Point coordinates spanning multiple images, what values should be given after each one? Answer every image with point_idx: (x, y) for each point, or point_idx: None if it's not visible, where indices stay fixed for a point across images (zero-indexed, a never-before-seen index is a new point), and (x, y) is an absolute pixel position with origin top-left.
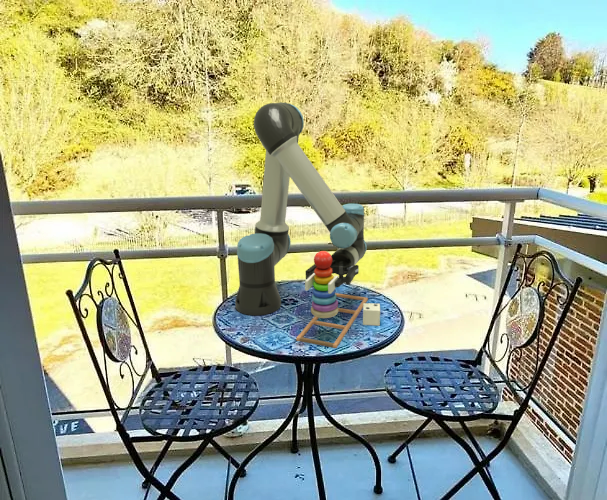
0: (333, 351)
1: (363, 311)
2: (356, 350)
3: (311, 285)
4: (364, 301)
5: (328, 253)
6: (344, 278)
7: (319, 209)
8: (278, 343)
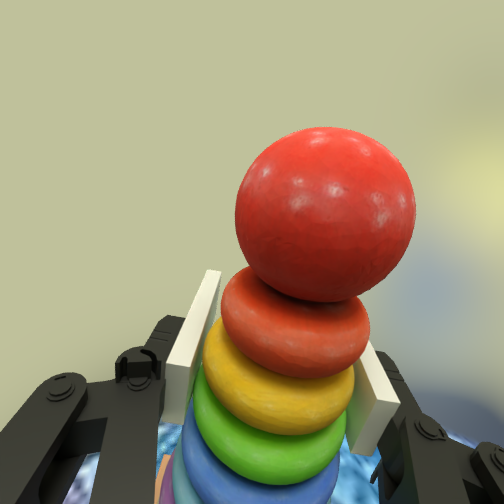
0: (173, 438)
1: None
2: (89, 461)
3: None
4: None
5: (283, 138)
6: (105, 383)
7: None
8: (347, 449)
